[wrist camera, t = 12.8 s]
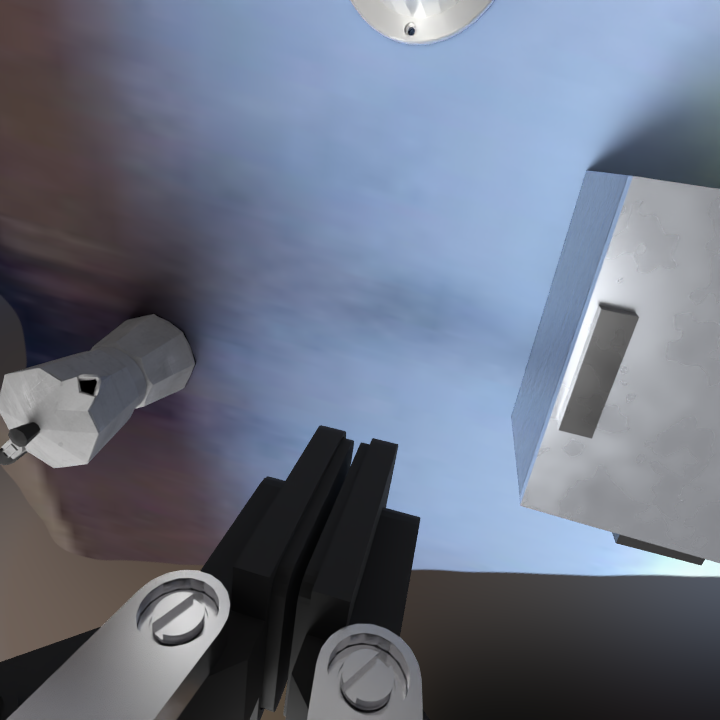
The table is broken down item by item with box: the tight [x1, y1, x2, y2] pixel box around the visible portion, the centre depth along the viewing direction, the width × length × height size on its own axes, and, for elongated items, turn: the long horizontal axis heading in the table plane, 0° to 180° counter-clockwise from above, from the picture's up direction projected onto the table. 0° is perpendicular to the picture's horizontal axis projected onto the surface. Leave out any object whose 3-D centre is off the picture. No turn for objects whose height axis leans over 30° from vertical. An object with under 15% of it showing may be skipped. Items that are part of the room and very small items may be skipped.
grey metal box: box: [511, 171, 705, 565], centre depth 35 cm, size 28×22×12 cm
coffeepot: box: [0, 314, 195, 468], centre depth 46 cm, size 15×9×18 cm, turn 128°
